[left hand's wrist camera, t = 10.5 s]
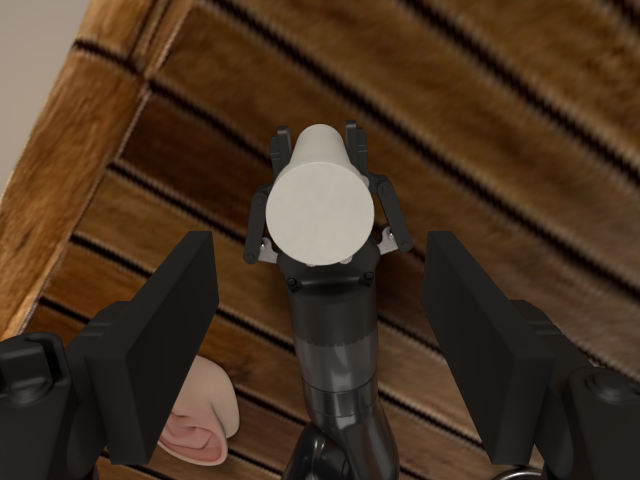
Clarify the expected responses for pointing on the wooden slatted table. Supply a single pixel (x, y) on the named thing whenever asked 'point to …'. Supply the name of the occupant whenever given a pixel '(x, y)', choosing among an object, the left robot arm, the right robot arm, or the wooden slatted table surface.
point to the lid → (320, 209)
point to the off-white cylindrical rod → (319, 142)
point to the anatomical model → (202, 416)
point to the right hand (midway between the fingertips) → (316, 125)
